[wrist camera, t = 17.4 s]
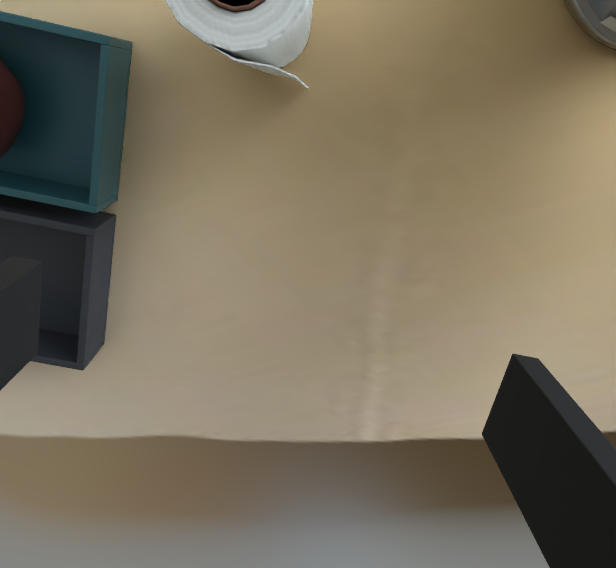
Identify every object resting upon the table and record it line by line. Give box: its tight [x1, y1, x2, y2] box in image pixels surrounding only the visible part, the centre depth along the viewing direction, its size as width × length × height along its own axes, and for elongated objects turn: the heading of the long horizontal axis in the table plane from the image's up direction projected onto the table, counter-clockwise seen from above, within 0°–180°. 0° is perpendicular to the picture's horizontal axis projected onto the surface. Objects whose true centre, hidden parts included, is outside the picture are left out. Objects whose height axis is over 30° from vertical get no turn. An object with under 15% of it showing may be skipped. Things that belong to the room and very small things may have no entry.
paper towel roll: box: [165, 0, 313, 89], centre depth 30 cm, size 7×6×21 cm
